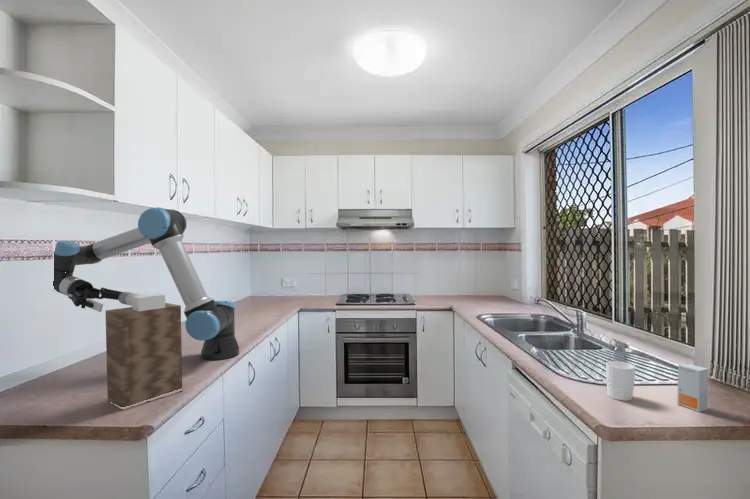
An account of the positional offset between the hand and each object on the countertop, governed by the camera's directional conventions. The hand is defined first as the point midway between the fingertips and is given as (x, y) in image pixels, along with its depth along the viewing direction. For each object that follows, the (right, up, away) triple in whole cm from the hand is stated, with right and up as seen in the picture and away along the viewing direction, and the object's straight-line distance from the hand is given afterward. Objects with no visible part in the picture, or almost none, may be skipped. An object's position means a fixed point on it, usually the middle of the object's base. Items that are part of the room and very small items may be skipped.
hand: (118, 305), depth 155 cm
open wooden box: (+22, -26, -22) cm, 41 cm away
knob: (+19, +2, -21) cm, 28 cm away
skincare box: (+186, -26, -32) cm, 191 cm away
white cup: (+170, -25, -24) cm, 173 cm away
